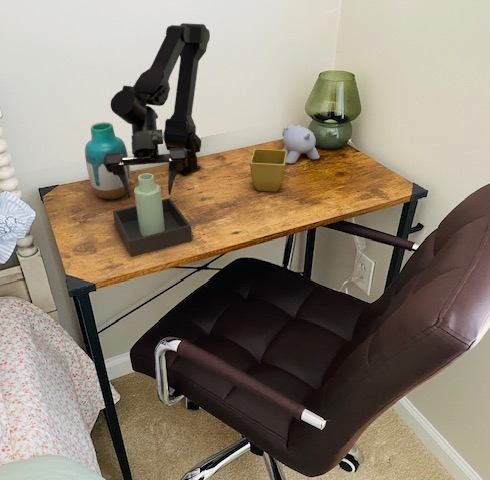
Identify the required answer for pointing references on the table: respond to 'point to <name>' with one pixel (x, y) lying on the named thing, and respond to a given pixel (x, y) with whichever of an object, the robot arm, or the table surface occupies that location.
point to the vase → (95, 151)
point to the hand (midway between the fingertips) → (149, 196)
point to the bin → (138, 244)
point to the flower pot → (267, 169)
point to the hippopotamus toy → (299, 143)
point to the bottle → (149, 205)
